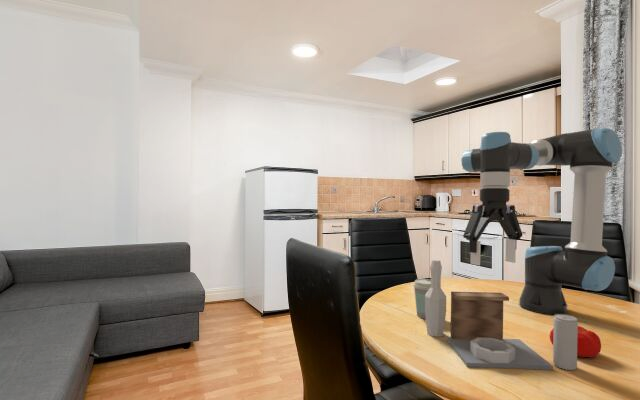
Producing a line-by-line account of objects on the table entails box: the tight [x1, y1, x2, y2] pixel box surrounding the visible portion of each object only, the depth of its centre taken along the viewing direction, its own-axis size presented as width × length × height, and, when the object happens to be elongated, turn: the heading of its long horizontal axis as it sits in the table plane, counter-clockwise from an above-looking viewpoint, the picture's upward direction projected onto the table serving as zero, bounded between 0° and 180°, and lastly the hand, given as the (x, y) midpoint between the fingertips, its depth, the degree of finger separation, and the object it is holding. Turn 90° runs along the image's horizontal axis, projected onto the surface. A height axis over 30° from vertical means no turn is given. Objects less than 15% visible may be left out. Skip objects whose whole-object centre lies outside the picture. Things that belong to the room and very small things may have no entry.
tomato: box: [549, 325, 602, 358], centre depth 95 cm, size 10×11×6 cm
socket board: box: [446, 336, 554, 371], centre depth 94 cm, size 20×16×4 cm
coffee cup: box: [412, 278, 431, 320], centre depth 123 cm, size 8×8×12 cm
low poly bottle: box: [425, 259, 447, 338], centre depth 107 cm, size 6×6×22 cm
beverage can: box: [552, 313, 579, 371], centre depth 87 cm, size 5×5×12 cm
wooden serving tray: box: [450, 291, 510, 340], centre depth 99 cm, size 14×4×14 cm, turn 87°
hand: (493, 263), depth 101 cm, fingers open, 13 cm apart
